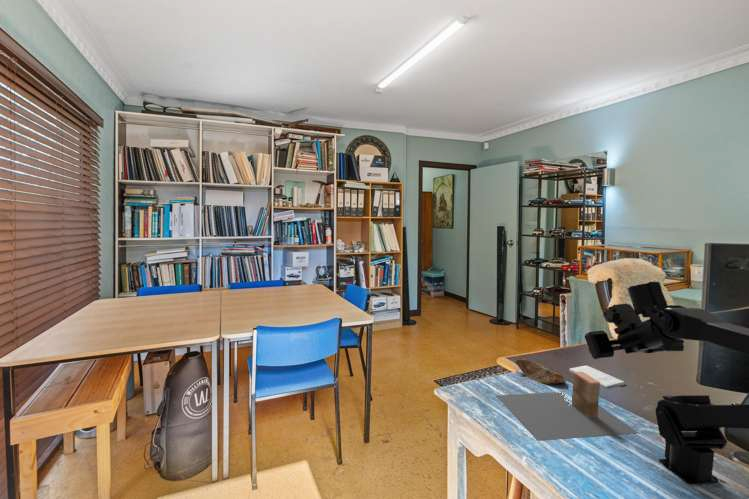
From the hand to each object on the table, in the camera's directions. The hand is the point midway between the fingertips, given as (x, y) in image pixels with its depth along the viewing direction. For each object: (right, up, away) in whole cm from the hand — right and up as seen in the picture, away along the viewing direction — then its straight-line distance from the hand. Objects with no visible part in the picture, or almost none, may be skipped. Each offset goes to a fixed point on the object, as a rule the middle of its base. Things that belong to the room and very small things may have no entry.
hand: (606, 348), depth 93 cm
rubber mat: (-14, -16, -3) cm, 21 cm away
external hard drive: (+8, -15, +18) cm, 25 cm away
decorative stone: (-9, -14, +18) cm, 24 cm away
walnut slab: (-7, -15, -2) cm, 17 cm away
